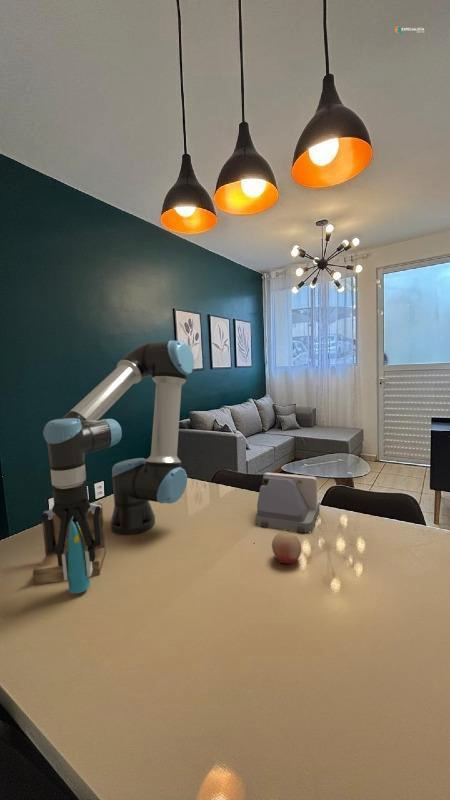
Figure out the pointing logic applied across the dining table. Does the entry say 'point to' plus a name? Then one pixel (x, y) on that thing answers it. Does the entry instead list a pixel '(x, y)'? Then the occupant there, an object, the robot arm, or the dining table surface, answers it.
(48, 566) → the brown piece
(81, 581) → the tube
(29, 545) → the dining table surface
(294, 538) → the fruit
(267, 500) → the instant camera
